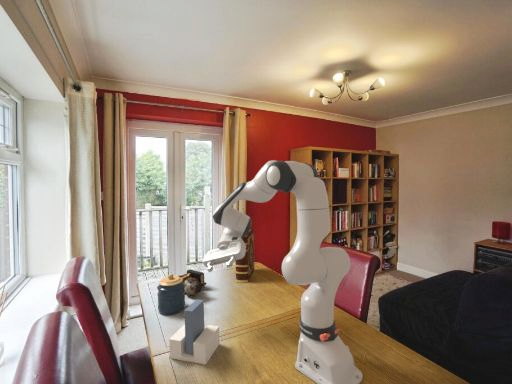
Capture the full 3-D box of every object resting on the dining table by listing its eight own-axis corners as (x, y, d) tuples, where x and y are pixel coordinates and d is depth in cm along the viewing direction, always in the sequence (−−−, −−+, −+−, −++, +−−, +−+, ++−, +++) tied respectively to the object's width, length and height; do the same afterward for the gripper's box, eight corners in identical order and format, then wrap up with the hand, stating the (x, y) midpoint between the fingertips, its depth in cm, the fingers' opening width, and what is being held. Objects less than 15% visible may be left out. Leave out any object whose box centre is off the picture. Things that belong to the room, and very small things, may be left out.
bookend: (189, 268, 166) (216, 273, 150) (190, 286, 166) (217, 293, 149) (168, 275, 155) (194, 280, 139) (169, 294, 154) (196, 301, 138)
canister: (157, 305, 137) (156, 271, 136) (184, 301, 142) (182, 268, 141) (158, 317, 125) (156, 280, 124) (186, 312, 130) (185, 276, 129)
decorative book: (247, 283, 164) (246, 234, 162) (234, 282, 165) (233, 234, 164) (254, 270, 186) (253, 227, 184) (243, 270, 187) (242, 227, 186)
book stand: (219, 343, 104) (219, 326, 104) (205, 364, 93) (205, 344, 92) (187, 338, 108) (186, 321, 108) (170, 358, 97) (169, 339, 96)
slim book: (204, 340, 104) (203, 300, 103) (193, 355, 96) (191, 311, 95) (197, 339, 105) (196, 299, 104) (185, 353, 96) (184, 310, 96)
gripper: (205, 246, 126) (194, 268, 115) (243, 235, 119) (236, 258, 107) (212, 255, 129) (202, 278, 117) (249, 246, 122) (243, 269, 110)
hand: (218, 268), depth 112 cm, fingers open, 8 cm apart
